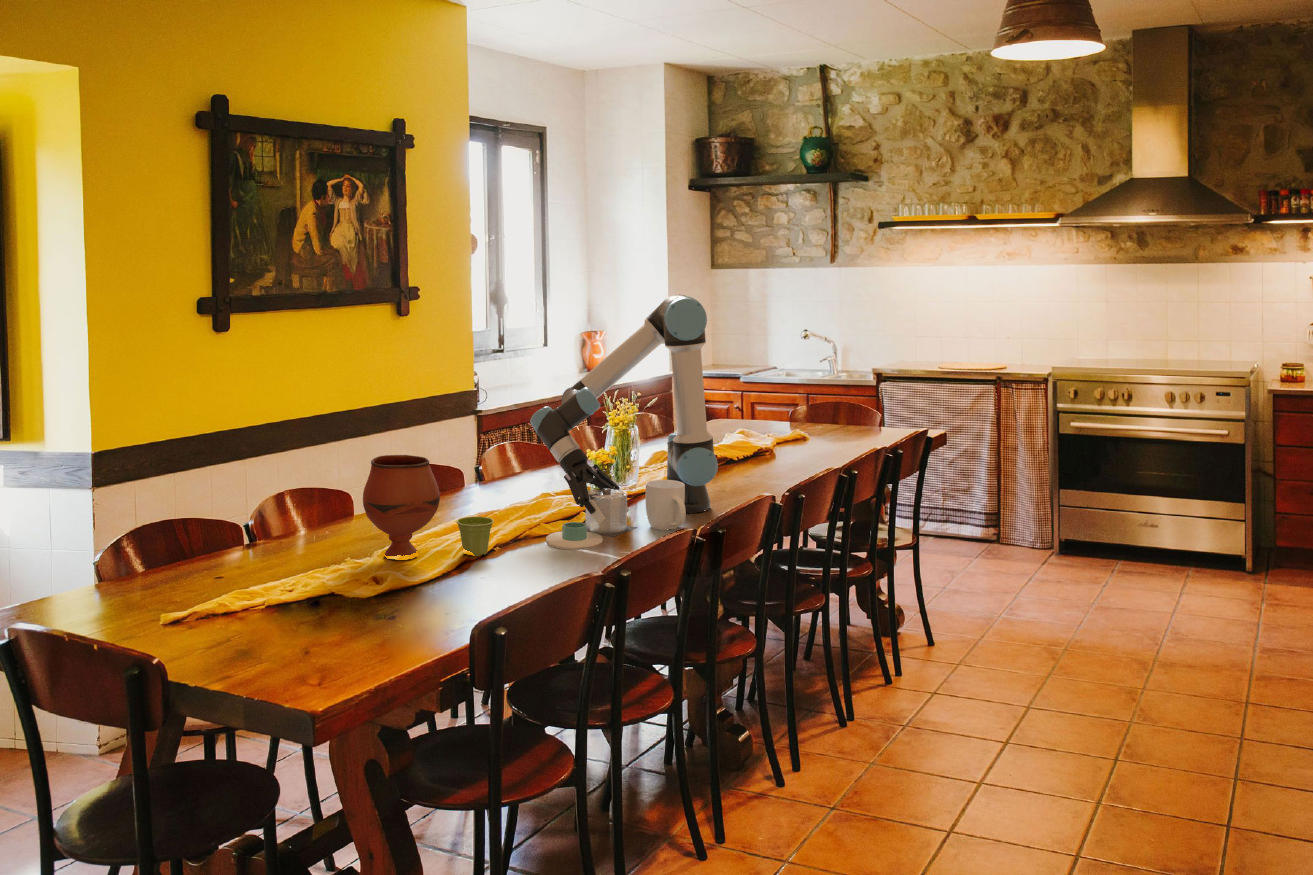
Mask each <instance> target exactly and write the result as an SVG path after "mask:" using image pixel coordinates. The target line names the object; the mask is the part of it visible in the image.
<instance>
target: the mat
mask: <svg viewBox="0 0 1313 875" xmlns="http://www.w3.org/2000/svg"><path fill="white" fill-rule="evenodd" d="M636 529H638V526H632V525H627V524H626V531H623V532H621V533H614V534H599V533H596V534H599V535H601V536H602V537H603V536H604V537H609V538H614V537H617V536H619V535H622V534H625V533H627V532H631V531H633V530H636ZM587 532H589V531H588V530H587Z"/></svg>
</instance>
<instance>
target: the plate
mask: <svg viewBox="0 0 1313 875" xmlns="http://www.w3.org/2000/svg"><path fill="white" fill-rule="evenodd" d="M545 538H546V542H545V543H546V545H548V546H550V547H552V548H556V549H561V550H567V551H569V550H570V551H575V550H580V551H581V550H583V548H590V547H595V546H598V545H600V544H601V543H603V541H604V540H603V539H604V538H603V535H599V534H596V533H593V532H587V524H585V522H580V521H569V522H568V521H567V522H565V523H562V531H556V532H552V533H550V534H548V535H546V537H545Z"/></svg>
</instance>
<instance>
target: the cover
mask: <svg viewBox="0 0 1313 875" xmlns="http://www.w3.org/2000/svg"><path fill="white" fill-rule="evenodd" d="M588 494H589V499H590V500H593V501H594V503H595V504H596V505H597V507H598V508H599V509H600V511H601V512H602V514H603V515H604V516H605V518H606V519H605V520H604V521H603V522H602V523H601V524H599V525H598V523H597V522H596V521H595V519H594V518H593V516H592V515H591V514H590V513H589V512H588V510H587V509H586V508H585V521H584V523H585V524H587V530H588V531H589V532H593V533H599V534H614V533H621V532H623V531H626V525H627V516H628V515H627V514H628V512H627V507H628V498H627V497H628V492H626V491H624V490H620V489H619V490H615V489H609V488H604V489H599V488H598V489H597V488H596V489H592V490H588ZM590 500H589V501H590Z"/></svg>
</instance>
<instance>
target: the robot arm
mask: <svg viewBox="0 0 1313 875" xmlns="http://www.w3.org/2000/svg"><path fill="white" fill-rule="evenodd" d="M707 322H708V316H707V312H706V310H705V308H704V306H703V304H702V303H700V301H699V300H697V299H695V298H694V297H692V296H687V295H684V294H673V295H670V296H668V297H666V299H664V300H663V301H662V302H661V303H660V304H659V305H658V306H657V307H656V308H655V309H654V310H653V311H652V312H651V313H650V314H649V315H648V316H647V317H646V318H645V319H644V323H643V325H642V326H641V327H640V328H638V329H637V330H636V331H635V332H633V333H632V335H630V336H629V337H628V338H626V339H625V340H624V341H623V342H622V343H621V344H619V346H617V347H616V348H615V349H614V350H613V351H611V353H610V354H608V355H607V356H606V357H604V359H603V360H601V361H600V362H599V363H598V364H597V365H596V366H594V367H593V368H592V369H591V370H590V371H588V373H586V374H585V375H584V376H583V377H582V378H581V379H579V381H577V382H576V383H575V384H574V385H572V386H571V387H568V388H566V389H565V390H564V391H563V392H562V395H561V403H560V405H558V406H557V407H555V408H554V409H553V408H552V407H550V405H549V406H544V407H542V408H540V409H538V410H537V411H536V412H534V413H533V414H532V415H531V417H530V419H529V420H530V421H529V422H530V426H532V428H533V430H534V431H535V433H536V434H537V436H538V437H539V439H541V441H542V442H543V444H544V445H545V447H546V448H547V449H548V450H549V452H550V453H551V454H552V456H553V457H554V459H555V460H556V462H558V463H559V466H560V467H561V469H562V470H563V471H564V473H565V475H564V476H563V479H565V481H566V483H567V485H568V487H569V489H570V492H571V495H572V497H573V499H574V501H575V504H576V505H577V506H579V507H580V508H584V507H585V510H586V509H587V510H588V512H589V513H590V514H591V515H592V516H593V518H594V519H595V521H596V522H597V523H598V525H599V524H601V523H602V522H603V521H604V520H605V519H606V518H605V516H604V515H603V514H602V512H601V511H600V509H599V508H598V507H597V505H596V504H595V503H594V501H593V500H590V499H589V494H588V491H589V489H588V484H590V485H594V486H595V487H596V488H598V489H604V488H609V489H615V490H620V486H619V485H618V484H617V483H616V482H615V481H614V480H613V479H612V478H610V477H609V476H608V475H607V474H606V473H605V472H604V471H602V469H601V468H600V467H599V465H598V464H596V463H594V464H593V466H591V465H589V463H588V459H589V458H588V456H587V455H586V453H585V451H583V449H581V448H580V445H579V444H578V443H577V441H576V440H575V438H574V437H573V436H572V435H571V433H570V431H571V430H573V429H574V428H575V427H577V426H578V425H580V424H581V423H583V422H584V421H585V420H586V419H587V418H589V417H590V416H592V415H594V414H595V413H596V412H597V411H598V410H600V408H601V403H600V402H599V400H598V398H600V397H601V396H602V395H603V394H605V393H606V392H607V391H608V390H609V389H610V388H611V387H613V386H614V385H615V384H616V383H617V382H619V380H621V379H622V378H623V377H624V376H626V375H627V374H628V373H629V372H630V371H631V370H632V369H634V368H635V367H636V366H637V365H638V364H639V363H641V362H642V361H643V360H644V359H645V358H646V357H648V356H649V355H650V354H652V352H654V350H656V349H657V348H658V347H659V346H661V345H662V344H663V345H664V346H665V348H667V349H668V350H669V351H670V356H671V357H670V358H671V359H670V360H671V369H672V382H673V393H674V405H675V406H674V407H675V418H676V420H675V421H676V430H677V432H672V433H670V434H669V435H668V437H667V442H666V445H667V459H666V460H667V461H666V462H667V463H666V480H674V481H679V482H682V483H684V484H685V502H684V505H685V510H686V514H697V512H699V513H702V512H701V511H704V510H708V509H709V508H710V509H711V499H710V496H709V492H708V490H707V486H706V485H708V483H710V482H711V481H713V479H714V478H715V477H716V476H717V472H718V469H719V468H718V467H719V464H718V459H717V457H716V455H715V448H714V436H713V435H712V434H711V433H710V432H709V431H708V425H707V424H708V423H707V413H706V410H707V409H706V400H705V398H706V397H705V385H704V383H705V382H704V375H703V372H704V371H703V370H704V369H703V360H702V348H703V346H704V345H705V344H706V343H707V340H706V328H707V324H708V323H707ZM589 500H590V501H589ZM710 509H709V510H710ZM709 510H708V511H709ZM628 512H630V508H629V507H628V506H627V513H628Z"/></svg>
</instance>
